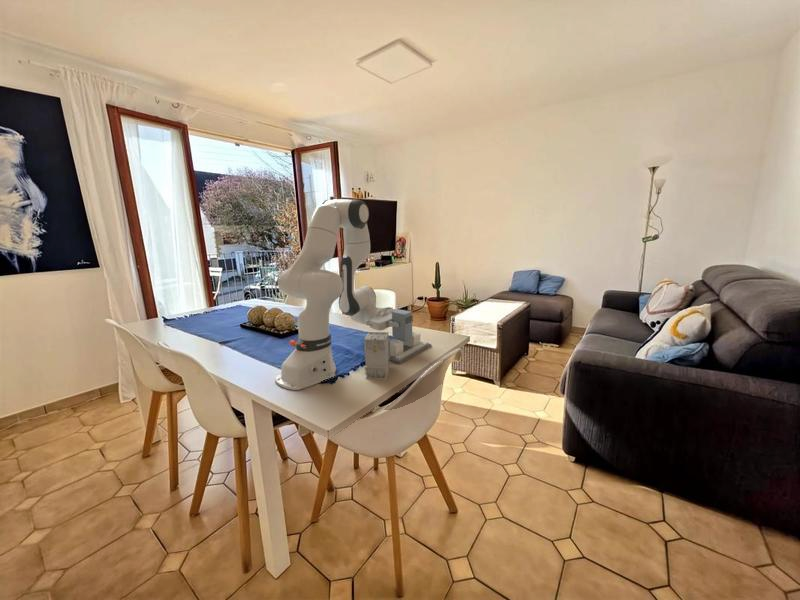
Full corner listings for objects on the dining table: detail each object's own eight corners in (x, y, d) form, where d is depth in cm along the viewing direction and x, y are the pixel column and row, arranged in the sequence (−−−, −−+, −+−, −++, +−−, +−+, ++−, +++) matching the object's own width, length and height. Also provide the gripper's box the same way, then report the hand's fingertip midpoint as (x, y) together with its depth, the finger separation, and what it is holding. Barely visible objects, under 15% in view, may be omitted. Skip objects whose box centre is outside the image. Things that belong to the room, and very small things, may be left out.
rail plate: (399, 364, 130) (399, 349, 129) (373, 356, 139) (372, 342, 137) (431, 346, 149) (431, 333, 148) (406, 340, 157) (406, 328, 156)
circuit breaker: (391, 363, 132) (390, 327, 128) (386, 379, 118) (385, 339, 114) (372, 362, 132) (371, 326, 129) (365, 378, 119) (364, 339, 115)
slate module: (406, 341, 139) (406, 314, 136) (392, 338, 143) (391, 311, 140) (413, 338, 143) (412, 311, 140) (399, 335, 147) (398, 309, 144)
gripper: (363, 316, 140) (388, 321, 132) (392, 306, 156) (416, 310, 148) (363, 330, 142) (388, 336, 134) (392, 319, 158) (416, 323, 149)
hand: (403, 322), depth 141 cm, fingers closed on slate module, 5 cm apart
